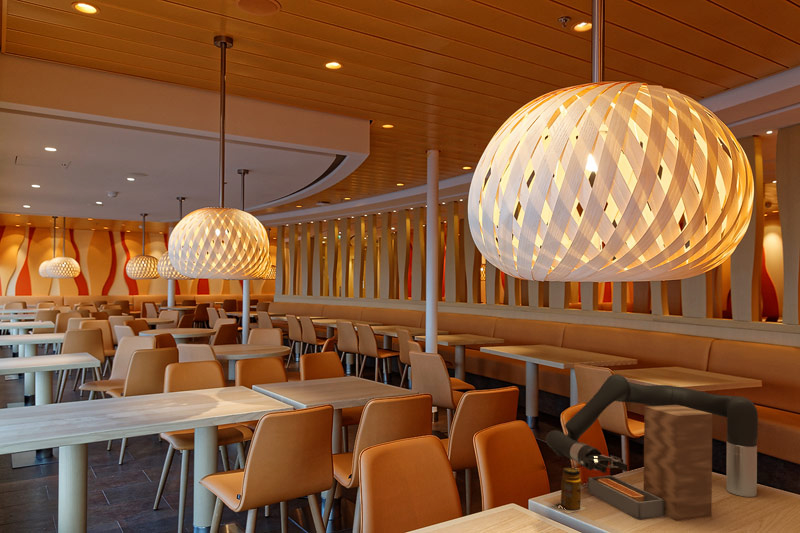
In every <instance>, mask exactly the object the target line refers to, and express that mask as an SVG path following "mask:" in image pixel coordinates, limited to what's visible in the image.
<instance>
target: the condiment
mask: <svg viewBox="0 0 800 533" xmlns="http://www.w3.org/2000/svg"><path fill="white" fill-rule="evenodd" d="M580 476H581V471H580V470H579V469H578V468H575V467H564V468H563V469H562V476H561V479H560V480H561V482H560V483H561V484H560V485H561V487H560V490H561V492H560V502H558V503H555V504H551V505H550V506H551V507H553V508H555V509H557V510H559V511H562V512H563V513H567V514H570V513H575V512H579V511H583V510H586V509H587V508H586V507H584V506H582V505H581V494H582V492H581V491H582V480H581V477H580ZM559 505H561V506H562V507H563V509H562V508H561V507H560V508H558V506H559ZM564 508H565V509H566V510H565V509H564ZM569 510H570V511H569Z"/></svg>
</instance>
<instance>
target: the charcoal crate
mask: <svg viewBox="0 0 800 533" xmlns="http://www.w3.org/2000/svg"><path fill="white" fill-rule="evenodd" d="M601 478H608V479H610V480H612V481H614V482H616V483H618V484H620V485H623V486H625V487H627V488H629V489H631V490H633V491H635V492H637V493H639V494H641V495H643V496H644V502H638V501H636V500H634V499H632V498H630V497H628V496H626V495H624V494H622V493H620V492H618V491H616V490H614V489H612V488H610V487H608V486H606V485H604V484H602V483H600V482H598V481H596V479H601ZM587 493H588V494H590V495H591V496H594V497H596V498H597V499H600V500H602V501H603V502H605V503H607V504H609V505H610V506H612V507H614V508H616V509H617V510H619V511H622V512H623V513H625V514H627V515H629V516H631V517H633V518H634V519H637V520H638V521H639V520H646V519H654V518H663V517H665V515H664V501H665V500H663V499H661V498H659V497H657V496H655V495H653V494H650V493H648V492H646V491H644V489H642V488H640V487H637V486H635V485H633V484H631V483H629V482H627V481H625V480H622V479H621V478H618V477H617V476H614V475H611V474H609V475H602V476H601V475H600V476H592V477H587Z"/></svg>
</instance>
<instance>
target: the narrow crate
mask: <svg viewBox="0 0 800 533" xmlns="http://www.w3.org/2000/svg"><path fill="white" fill-rule="evenodd" d="M596 481H598V482H600V483H602V484H604V485H606V486H608V487H610V488H612V489H614V490H616V491H618V492H620V493H622V494H624V495H626V496H628V497H630V498H632V499H634V500H636V501H638V502H644V496H643V495H641V494H639V493H637V492H635V491H633V490H631V489H629V488H627V487H625V486H623V485H620V484H618V483H616V482H614V481H612V480H610V479H608V478H601V479H596Z"/></svg>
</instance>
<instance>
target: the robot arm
mask: <svg viewBox="0 0 800 533" xmlns="http://www.w3.org/2000/svg"><path fill="white" fill-rule="evenodd" d="M614 402H618V403H633V404H642V405H646V406H666V405H680V406H684V407H688V408H692V409H696V410H700V411H703V412H707V413H711V414H712V415H714V416H715V415H716V416H719V417H725V418H726V423H727V424H726V481H725V482H726V486H725V487H726V488H725V489H726V491H727V492H728V493H730V494H733V495H737V496H741V497H747V498H748V497H749V498H750V497H753V498H754V497H757V491H758V490H757V482H758V479H757V478H758V477H757V476H758V468H757V467H758V463H757V462H758V444H757V443H758V431H759V430H758V428H759V427H758V425H759V417H758V409H757V407H756V406H755V404H754V402H753V401H752V400H750V399H749V398H747V397H745V396H741V395H740V396H738V395H737V396H736V395H724V394H723V395H722V394H721V395H720V394H714V393H709V392H704V391H701V390H697V389H691V388H688V387H687V388H686V387H683V386H682V387H681V386H677V385H668V384H667V385H666V384H655V385H654V384H653V385H645V384H638V383H635V382H632V381H631V382H630V381H628V379H627V378H626V377H625V376H623V375H620V374H613V375H610V376H608V377H607V379H606V380H605V381H604V382H603V384H602V385H601V387H600V388H599V389H598V391H597V392H596V393H595V394H594V395H593V396H592V398H591V399H590V400H589V401H588V402H586V404H584V406H582V407H581V408H580V409H579V410H578V411H577V412H576V413H575V414H574V415H573V416H572V417H571V418H570V419H568V421H567V422H566V423H565V425H564V426H565V427H564V428H565V429H566V431H567V434H565V433H564V432H562V431H561V430H555V429H554V430H551V431H549V432H548V433H547V434H546V436H545V442H546V445H548V447H549V448H550V449H551V450H552V451H553V453H555V454H556V455H557V456H558V457H566V458H568V459H570V460H572V461H574V462H575V463H577V464H579V465H580V466H581V467H583V468H586V469H587V470H589V471H592V470H594V471H599V472H601V473H603V474H607V468H609V469H613V468H617V469H620V470H622V471H624V472H627V471H628V464H626V463H625V462H624V459H623V458H621V457H617V456H616V455H615V456H614V455H612V454H610V455H609V456H607V455H604V454H602V453H601V450H599V449H598V448H596V447H594V446H592V445H590V444H586V443H584V442H580V441H579V439H580V438H581V436H582V435H583V434H584V433H585V432H586V431H587V430H588V429H589V428H591V427H592V425H593V424H595V422H596V421H597V419H598V418H599V417H600V415H601V414H602V413H603V412H604V411H605V410H606V409H607V408H608V407H609V406H611V404H613V403H614ZM609 463H610V464H609Z"/></svg>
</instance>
